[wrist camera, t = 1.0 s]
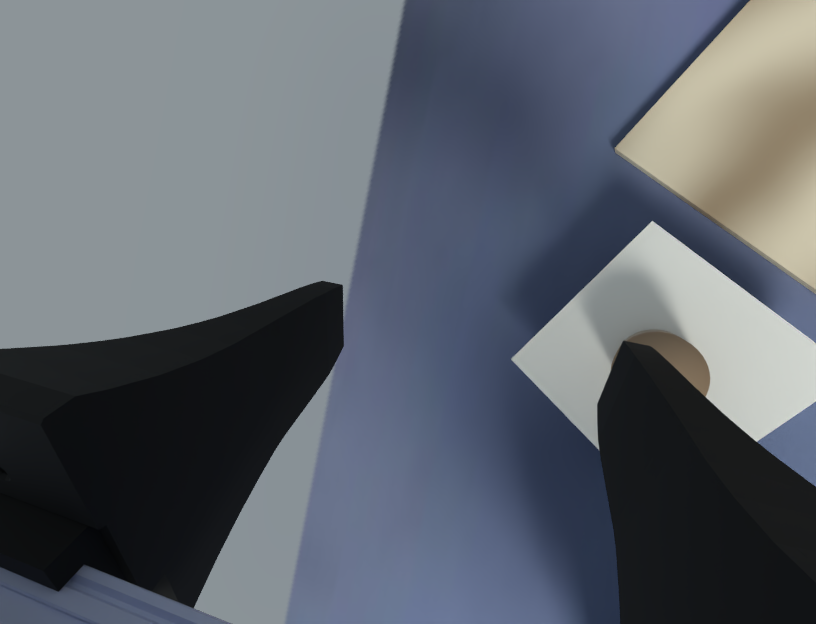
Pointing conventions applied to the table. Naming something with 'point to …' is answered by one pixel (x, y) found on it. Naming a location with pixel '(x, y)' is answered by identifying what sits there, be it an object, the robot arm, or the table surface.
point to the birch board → (745, 134)
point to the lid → (674, 338)
